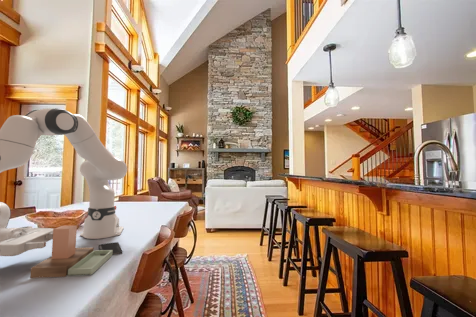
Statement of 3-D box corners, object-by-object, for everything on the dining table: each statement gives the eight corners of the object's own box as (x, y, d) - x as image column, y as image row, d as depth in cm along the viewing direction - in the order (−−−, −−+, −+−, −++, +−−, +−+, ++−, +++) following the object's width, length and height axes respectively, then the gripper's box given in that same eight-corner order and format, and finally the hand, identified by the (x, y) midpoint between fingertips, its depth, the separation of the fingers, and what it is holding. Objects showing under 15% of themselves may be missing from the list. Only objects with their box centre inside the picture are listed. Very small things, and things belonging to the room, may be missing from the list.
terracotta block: (60, 253, 86) (61, 225, 87) (75, 253, 87) (76, 225, 87) (51, 258, 81) (53, 229, 82) (67, 258, 82) (69, 228, 83)
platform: (65, 255, 92) (66, 247, 93) (93, 255, 94) (93, 247, 94) (30, 277, 74) (30, 268, 74) (65, 276, 75) (66, 266, 75)
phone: (100, 255, 92) (98, 244, 104) (100, 258, 92) (98, 247, 104) (123, 251, 96) (118, 241, 109) (122, 254, 96) (118, 244, 109)
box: (93, 255, 93) (93, 250, 93) (112, 255, 94) (112, 249, 94) (67, 275, 76) (67, 269, 76) (91, 275, 76) (91, 268, 77)
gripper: (-18, 241, 72) (33, 240, 74) (31, 225, 92) (70, 224, 94) (-20, 262, 72) (31, 261, 74) (30, 241, 92) (69, 241, 94)
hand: (53, 240), depth 84 cm, fingers open, 8 cm apart
